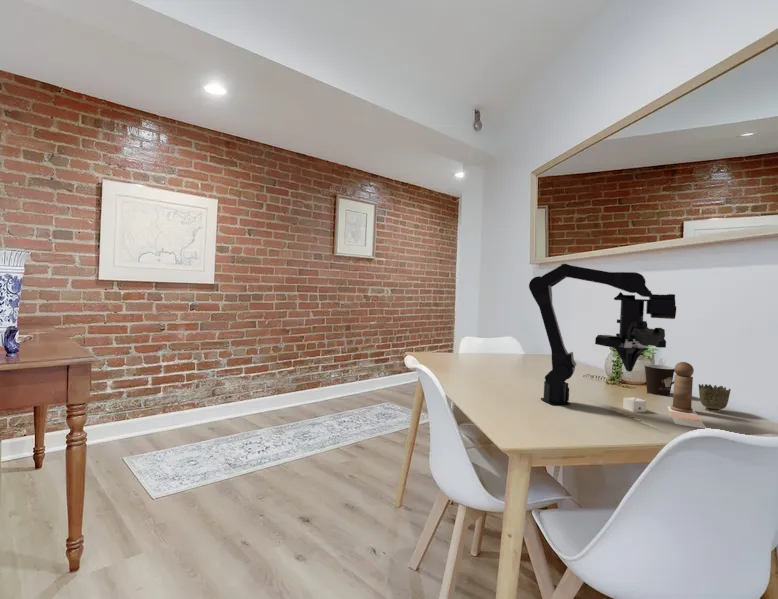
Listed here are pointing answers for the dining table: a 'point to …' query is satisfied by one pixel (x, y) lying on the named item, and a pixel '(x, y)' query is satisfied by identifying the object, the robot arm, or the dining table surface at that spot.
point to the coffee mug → (659, 379)
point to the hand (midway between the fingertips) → (629, 371)
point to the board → (686, 416)
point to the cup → (713, 397)
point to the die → (634, 404)
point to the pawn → (683, 388)
